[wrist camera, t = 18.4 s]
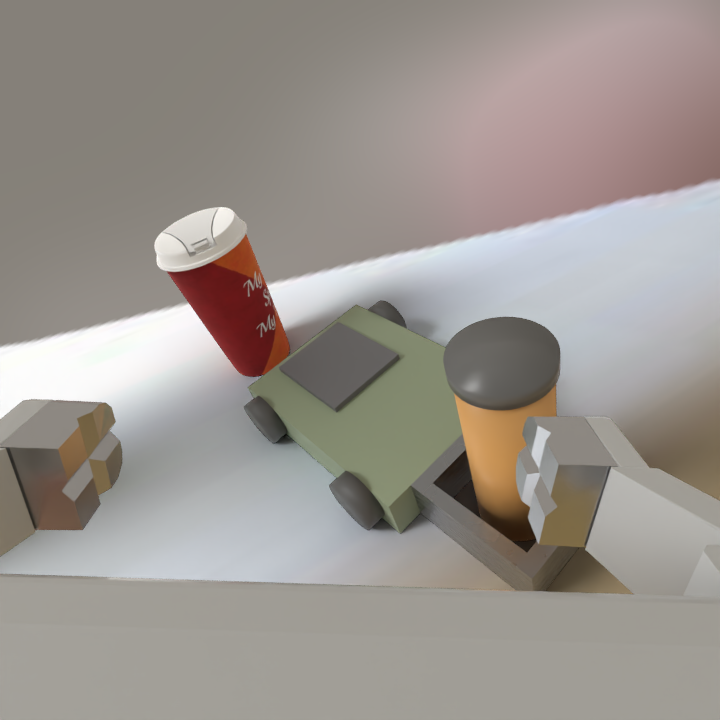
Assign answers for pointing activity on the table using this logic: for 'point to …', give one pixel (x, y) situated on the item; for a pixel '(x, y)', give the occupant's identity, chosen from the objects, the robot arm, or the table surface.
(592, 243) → the table surface
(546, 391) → the orange and grey cylinder
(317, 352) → the toy wheeled cart
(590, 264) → the table surface
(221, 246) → the coffee cup
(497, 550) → the box
